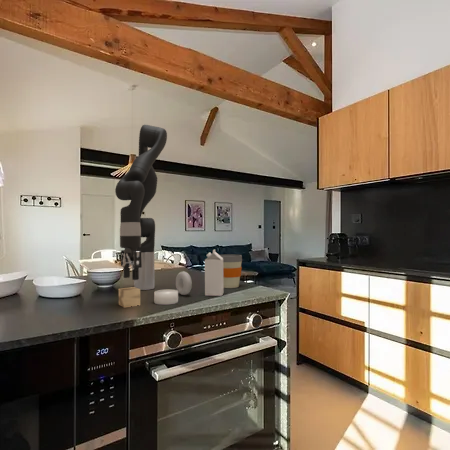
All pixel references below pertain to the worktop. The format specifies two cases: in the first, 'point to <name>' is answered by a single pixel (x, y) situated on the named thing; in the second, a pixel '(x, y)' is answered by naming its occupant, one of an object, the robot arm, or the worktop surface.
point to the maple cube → (129, 297)
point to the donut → (187, 285)
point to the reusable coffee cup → (231, 270)
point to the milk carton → (214, 275)
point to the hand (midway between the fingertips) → (130, 278)
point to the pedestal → (165, 297)
